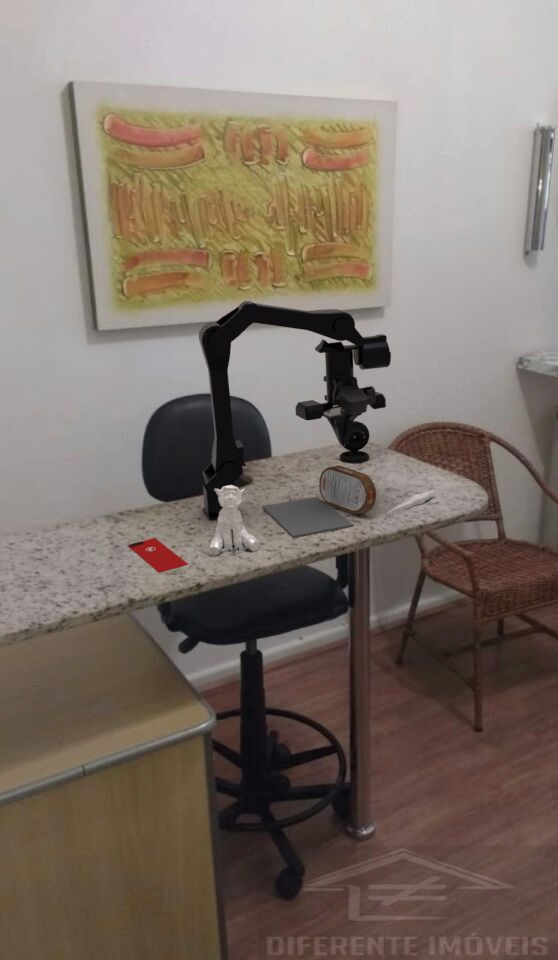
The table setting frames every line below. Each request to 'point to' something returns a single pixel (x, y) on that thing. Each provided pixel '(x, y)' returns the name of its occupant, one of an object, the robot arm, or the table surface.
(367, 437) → the webcam
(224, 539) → the white creature statuette
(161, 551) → the electronic device
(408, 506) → the white tapered figurine
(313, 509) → the mat
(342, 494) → the tin
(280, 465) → the table surface
